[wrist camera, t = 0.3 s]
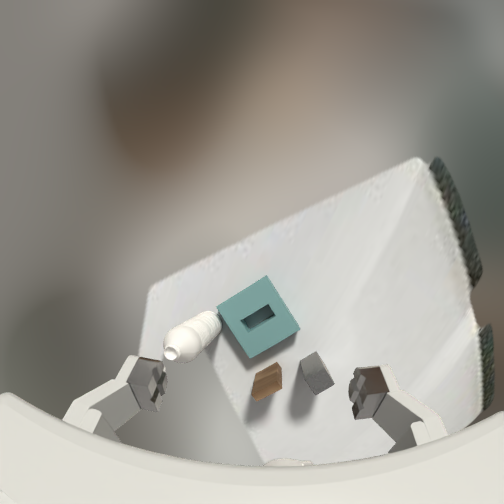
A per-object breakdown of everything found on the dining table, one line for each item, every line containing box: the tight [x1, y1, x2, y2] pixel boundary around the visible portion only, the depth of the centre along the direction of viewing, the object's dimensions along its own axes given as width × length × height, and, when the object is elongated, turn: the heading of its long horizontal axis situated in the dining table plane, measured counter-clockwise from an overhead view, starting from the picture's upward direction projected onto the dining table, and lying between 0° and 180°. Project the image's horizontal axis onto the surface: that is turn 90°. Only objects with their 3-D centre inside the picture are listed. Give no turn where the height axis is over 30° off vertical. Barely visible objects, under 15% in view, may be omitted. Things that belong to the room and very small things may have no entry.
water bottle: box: [163, 311, 222, 373], centre depth 50 cm, size 9×6×25 cm
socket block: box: [217, 275, 300, 359], centre depth 60 cm, size 14×13×4 cm
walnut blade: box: [251, 362, 282, 401], centre depth 55 cm, size 2×6×12 cm, turn 122°
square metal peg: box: [300, 351, 335, 395], centre depth 54 cm, size 4×4×12 cm
